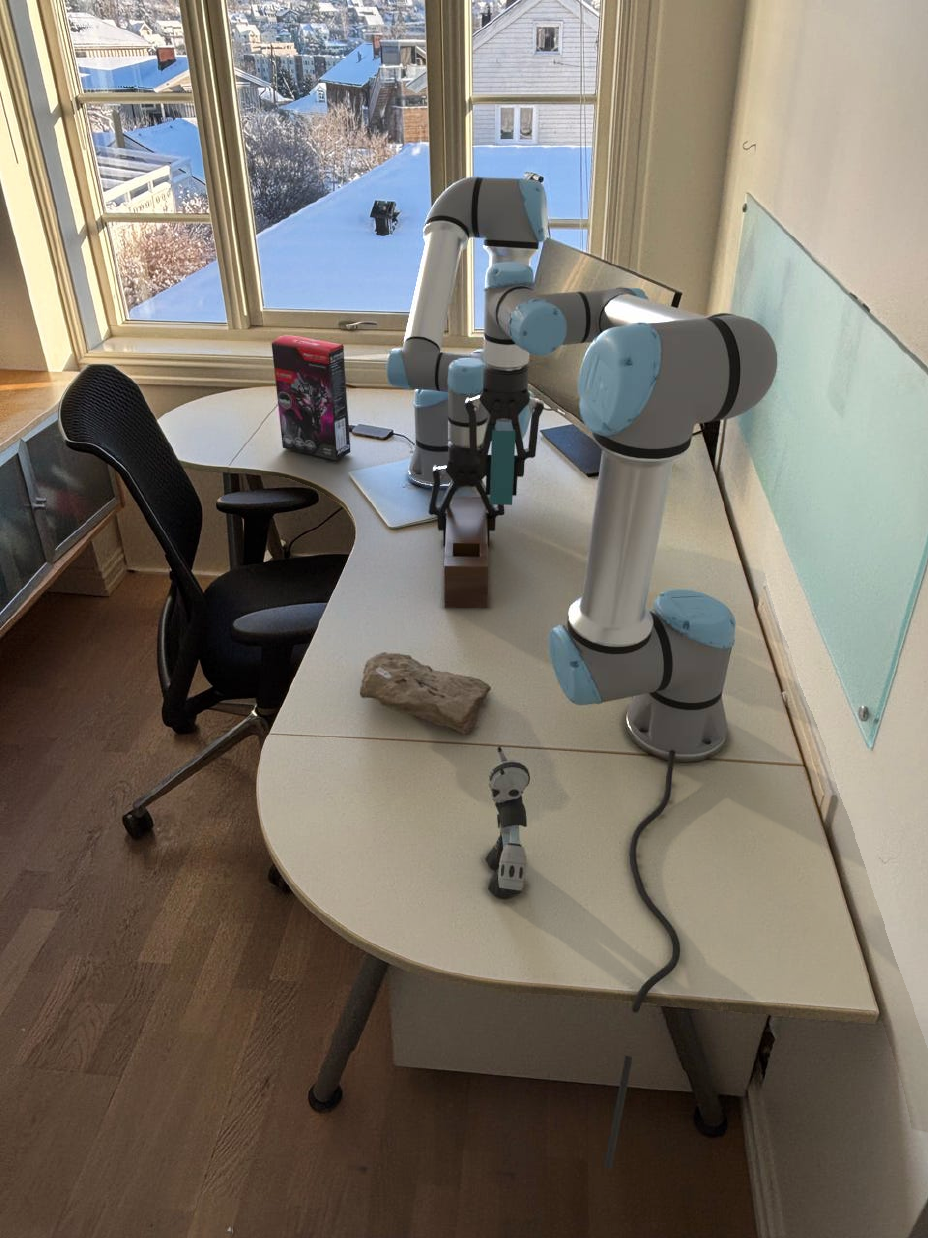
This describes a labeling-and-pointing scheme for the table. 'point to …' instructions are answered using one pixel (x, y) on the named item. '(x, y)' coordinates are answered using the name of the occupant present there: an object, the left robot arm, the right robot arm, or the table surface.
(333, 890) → the table surface
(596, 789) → the table surface
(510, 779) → the robot
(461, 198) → the left robot arm
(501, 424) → the peg
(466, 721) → the stone
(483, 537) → the hole block
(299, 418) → the graphics card box
